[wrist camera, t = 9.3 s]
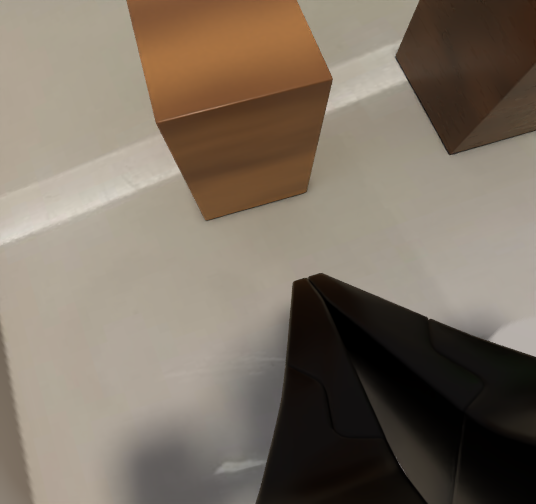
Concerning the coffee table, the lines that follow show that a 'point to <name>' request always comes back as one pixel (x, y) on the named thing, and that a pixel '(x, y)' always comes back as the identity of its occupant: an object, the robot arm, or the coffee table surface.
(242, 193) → the oak block
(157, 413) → the coffee table surface
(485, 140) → the walnut block
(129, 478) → the coffee table surface
